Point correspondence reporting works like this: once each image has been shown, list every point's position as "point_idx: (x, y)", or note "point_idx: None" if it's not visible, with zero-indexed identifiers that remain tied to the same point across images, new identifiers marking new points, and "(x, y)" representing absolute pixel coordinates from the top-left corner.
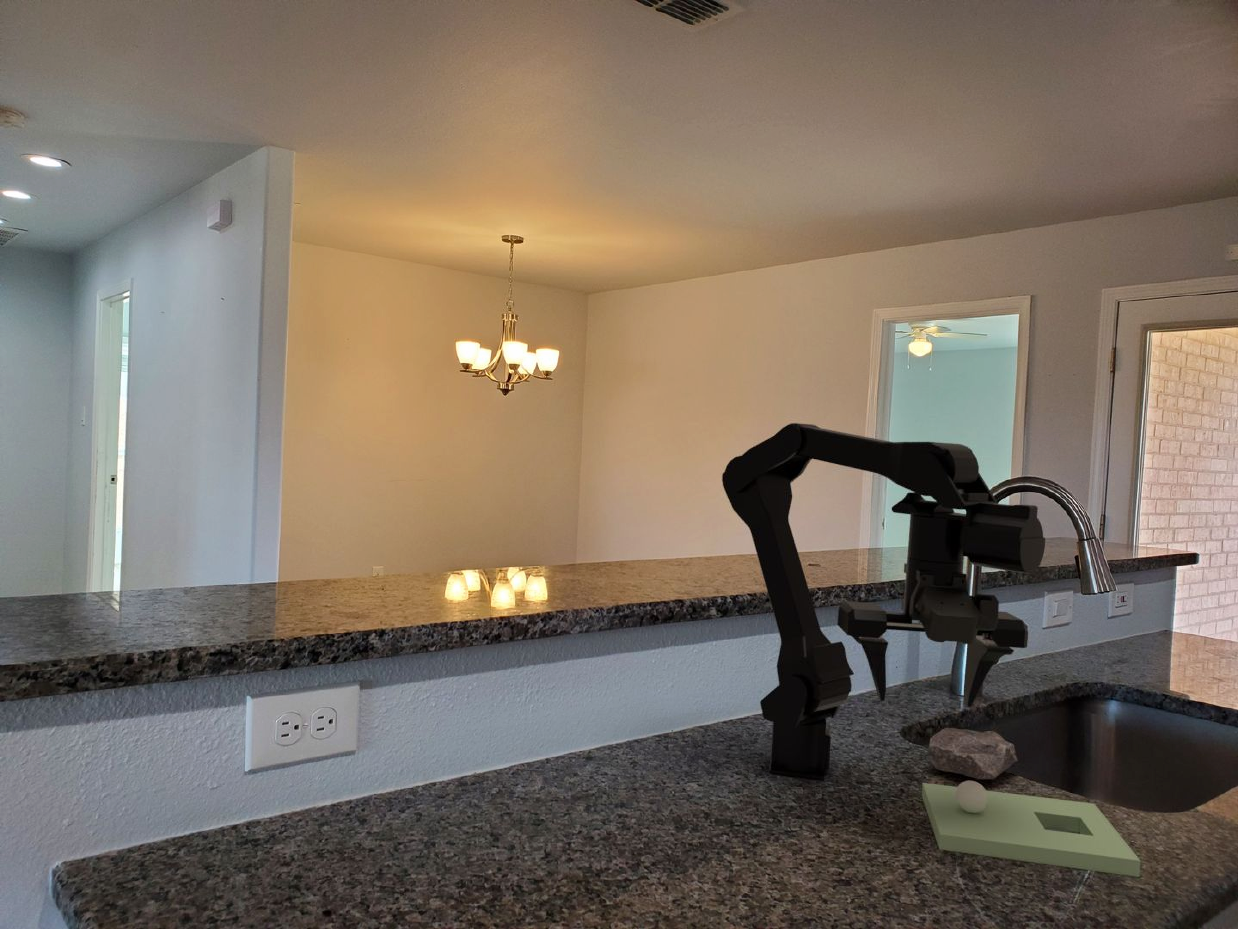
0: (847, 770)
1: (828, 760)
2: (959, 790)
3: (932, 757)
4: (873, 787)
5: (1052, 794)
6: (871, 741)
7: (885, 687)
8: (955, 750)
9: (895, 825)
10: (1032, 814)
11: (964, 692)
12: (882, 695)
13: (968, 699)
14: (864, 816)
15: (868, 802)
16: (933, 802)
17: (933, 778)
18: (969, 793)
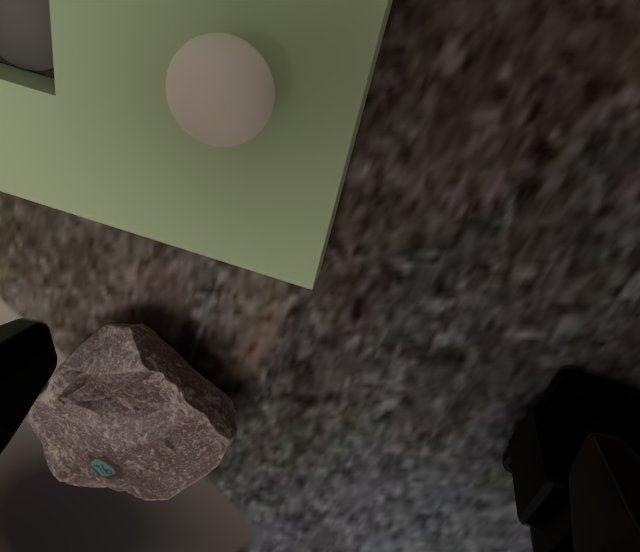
0: (452, 420)
1: (540, 424)
2: (258, 90)
3: (232, 416)
4: (430, 328)
5: (7, 278)
6: (321, 534)
7: (638, 517)
8: (173, 402)
9: (493, 72)
10: (61, 72)
11: (10, 421)
12: (629, 464)
13: (6, 345)
14: (567, 138)
15: (496, 239)
16: (334, 152)
17: (250, 367)
18: (231, 54)
